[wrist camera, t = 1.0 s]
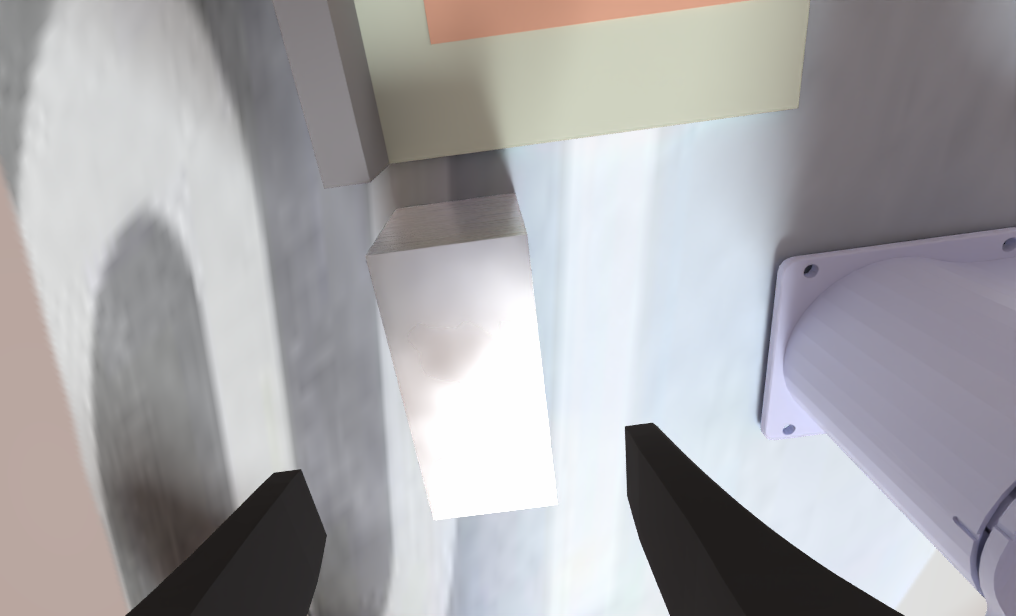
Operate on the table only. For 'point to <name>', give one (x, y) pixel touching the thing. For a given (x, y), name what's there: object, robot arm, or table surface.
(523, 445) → the aluminium bar
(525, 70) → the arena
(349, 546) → the table surface
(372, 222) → the table surface
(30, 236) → the table surface
